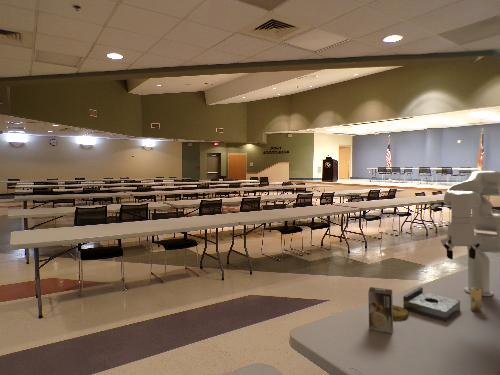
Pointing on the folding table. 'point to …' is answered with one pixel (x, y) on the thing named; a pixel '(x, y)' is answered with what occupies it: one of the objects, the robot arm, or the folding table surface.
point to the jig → (430, 305)
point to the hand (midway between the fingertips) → (461, 258)
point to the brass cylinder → (476, 299)
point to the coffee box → (380, 309)
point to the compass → (399, 313)
